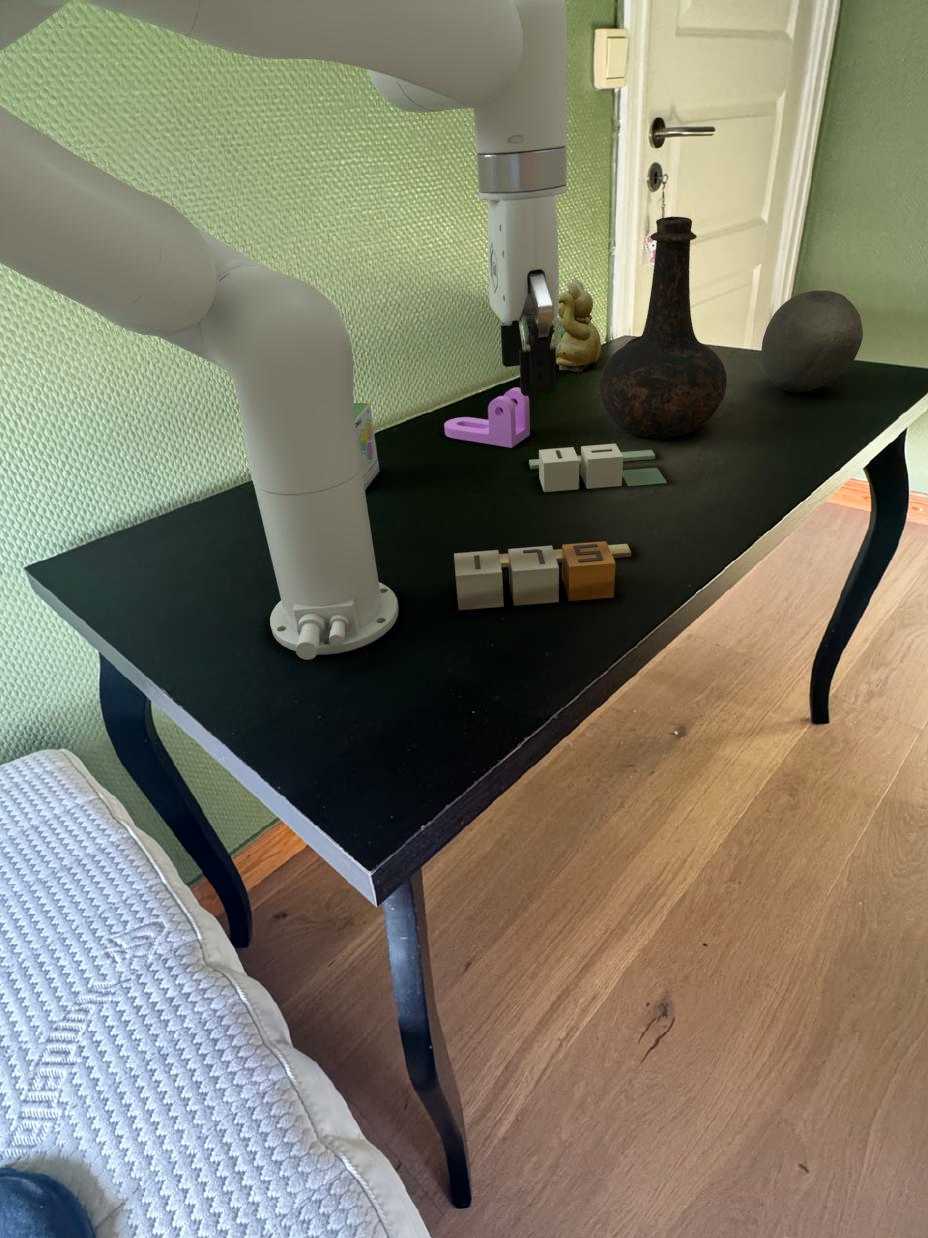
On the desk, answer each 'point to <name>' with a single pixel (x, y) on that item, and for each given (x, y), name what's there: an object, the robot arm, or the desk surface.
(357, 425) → the ink box
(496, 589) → the front word
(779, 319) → the dark grey rounded piece
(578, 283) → the decorative figurine
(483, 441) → the bracket
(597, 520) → the desk surface
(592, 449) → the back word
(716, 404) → the brown bottle
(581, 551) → the orange-brown block
